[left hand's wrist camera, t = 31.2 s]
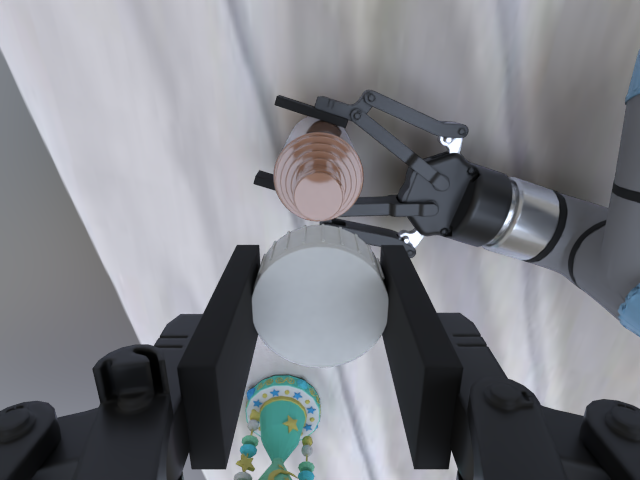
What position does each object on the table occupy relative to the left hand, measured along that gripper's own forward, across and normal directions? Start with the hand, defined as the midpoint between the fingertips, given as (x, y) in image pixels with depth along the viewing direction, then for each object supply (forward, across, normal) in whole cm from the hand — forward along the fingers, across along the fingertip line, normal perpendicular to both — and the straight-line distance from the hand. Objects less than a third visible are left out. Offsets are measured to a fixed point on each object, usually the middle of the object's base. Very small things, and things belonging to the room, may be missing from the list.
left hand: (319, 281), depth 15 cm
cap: (-2, 0, 0) cm, 2 cm away
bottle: (+33, 0, 0) cm, 33 cm away
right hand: (+27, -5, +1) cm, 27 cm away
